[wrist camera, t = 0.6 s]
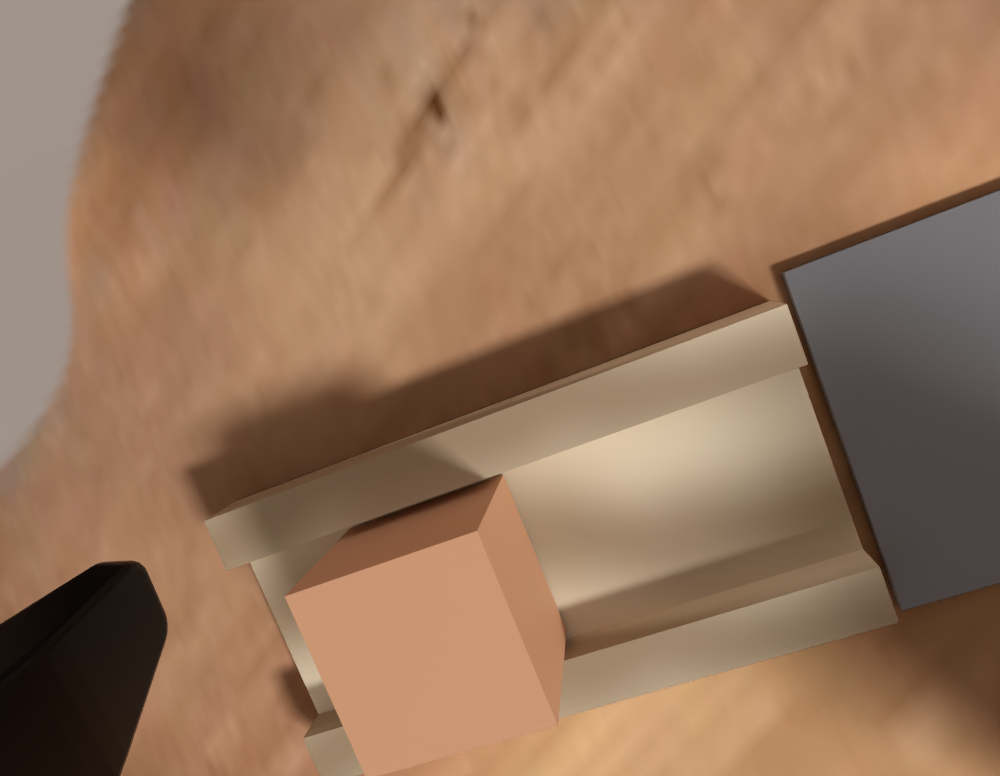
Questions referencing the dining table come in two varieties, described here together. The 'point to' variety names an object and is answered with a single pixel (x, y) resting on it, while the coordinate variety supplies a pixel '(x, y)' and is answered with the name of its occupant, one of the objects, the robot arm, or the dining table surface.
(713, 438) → the chute
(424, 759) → the block
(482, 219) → the dining table surface
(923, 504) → the mat
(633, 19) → the dining table surface
